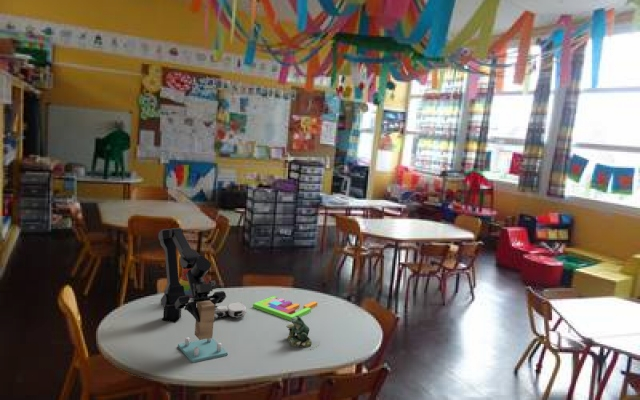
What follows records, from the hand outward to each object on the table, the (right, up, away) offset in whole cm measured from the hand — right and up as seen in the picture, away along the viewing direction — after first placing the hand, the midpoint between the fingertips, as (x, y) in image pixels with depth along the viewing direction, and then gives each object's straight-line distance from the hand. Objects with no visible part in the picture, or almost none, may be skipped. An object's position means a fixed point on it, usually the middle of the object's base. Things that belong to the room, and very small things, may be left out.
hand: (206, 320), depth 189 cm
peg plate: (-2, -12, +3) cm, 13 cm away
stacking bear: (-20, -3, +53) cm, 57 cm away
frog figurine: (+33, -14, +19) cm, 41 cm away
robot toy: (+1, -7, +39) cm, 40 cm away
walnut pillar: (-2, -6, +2) cm, 7 cm away
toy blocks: (+27, -8, +56) cm, 63 cm away
